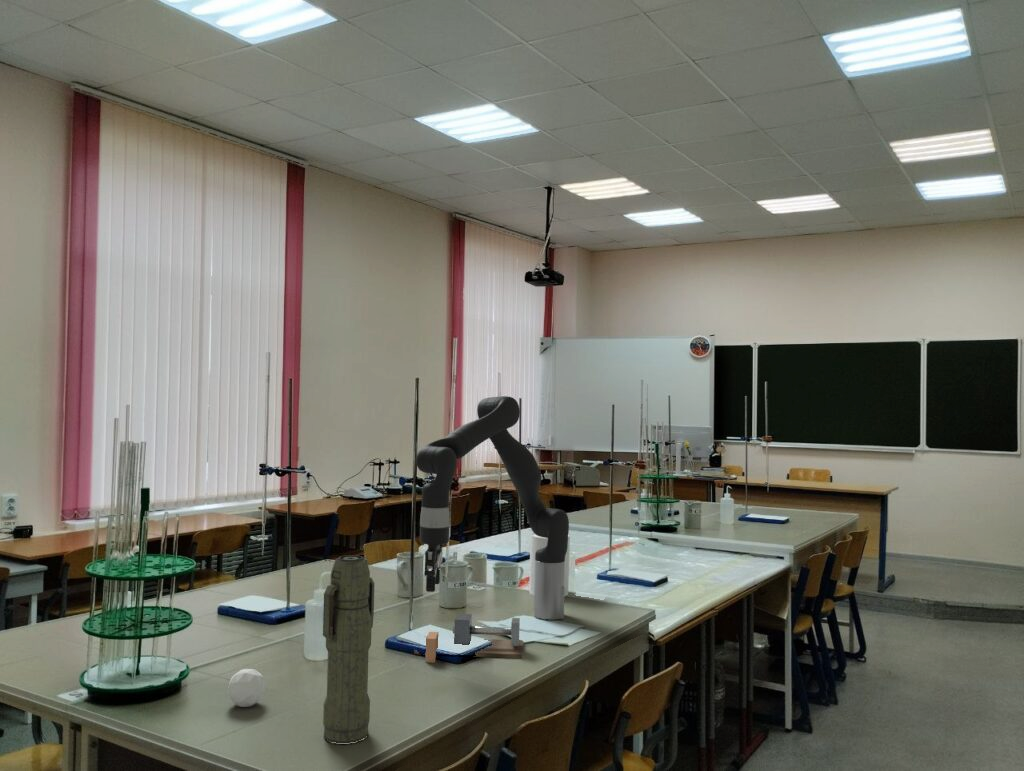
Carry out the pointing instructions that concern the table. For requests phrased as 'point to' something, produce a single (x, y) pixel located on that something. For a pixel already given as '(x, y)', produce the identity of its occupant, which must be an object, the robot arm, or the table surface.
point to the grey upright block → (462, 629)
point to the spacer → (431, 647)
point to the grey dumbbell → (500, 631)
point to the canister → (535, 545)
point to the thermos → (348, 649)
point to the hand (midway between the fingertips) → (433, 587)
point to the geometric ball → (246, 687)
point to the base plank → (499, 649)
